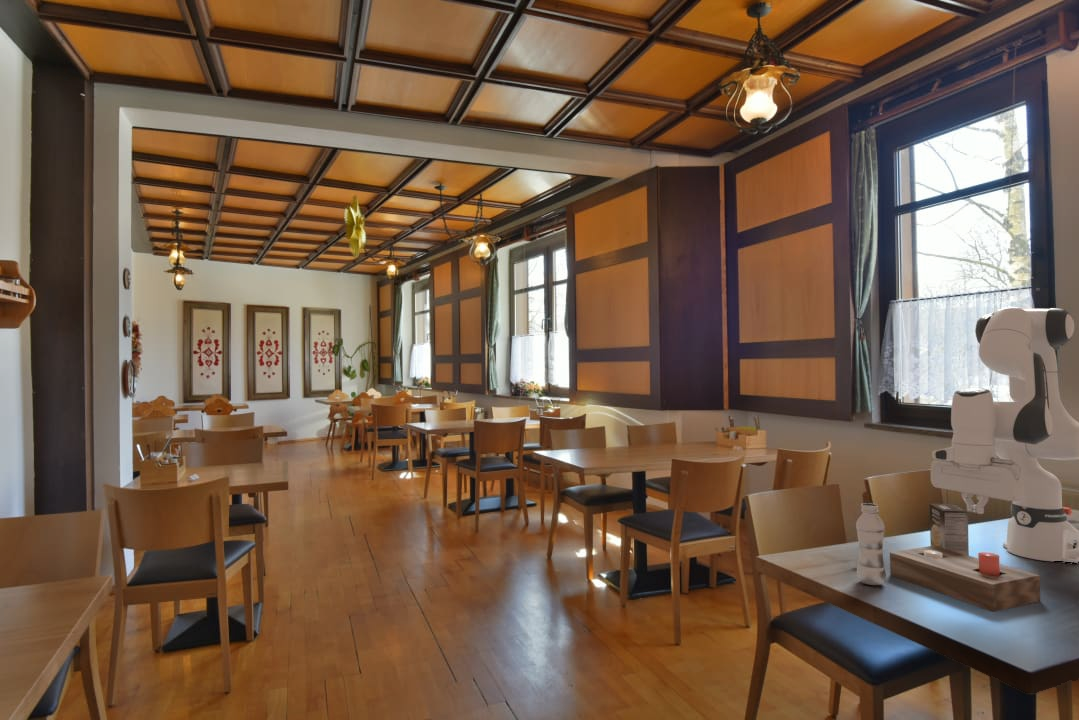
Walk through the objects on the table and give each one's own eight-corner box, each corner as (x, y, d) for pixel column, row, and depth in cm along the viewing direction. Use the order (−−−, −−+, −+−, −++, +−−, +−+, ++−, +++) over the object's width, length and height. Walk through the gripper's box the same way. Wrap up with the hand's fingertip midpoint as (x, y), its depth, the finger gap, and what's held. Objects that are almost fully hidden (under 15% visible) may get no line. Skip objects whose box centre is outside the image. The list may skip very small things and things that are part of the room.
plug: (932, 574, 159) (931, 549, 159) (946, 579, 155) (946, 553, 155) (921, 576, 158) (920, 551, 158) (935, 581, 154) (934, 555, 154)
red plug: (986, 578, 146) (985, 551, 146) (1004, 584, 142) (1003, 556, 142) (975, 580, 144) (974, 553, 145) (992, 586, 141) (991, 558, 141)
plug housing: (934, 567, 165) (933, 545, 165) (1040, 601, 140) (1039, 575, 140) (890, 575, 159) (889, 552, 159) (993, 611, 135) (992, 584, 135)
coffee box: (929, 559, 172) (928, 502, 172) (954, 560, 171) (953, 503, 171) (944, 570, 163) (942, 510, 163) (970, 571, 162) (969, 511, 162)
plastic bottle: (850, 582, 155) (848, 503, 155) (869, 578, 157) (867, 501, 158) (873, 590, 149) (871, 508, 149) (892, 585, 152) (890, 506, 152)
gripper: (1029, 460, 138) (1031, 521, 137) (943, 449, 157) (945, 503, 157) (1010, 461, 135) (1011, 523, 135) (925, 451, 155) (927, 505, 154)
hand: (975, 512), depth 146 cm, fingers closed
